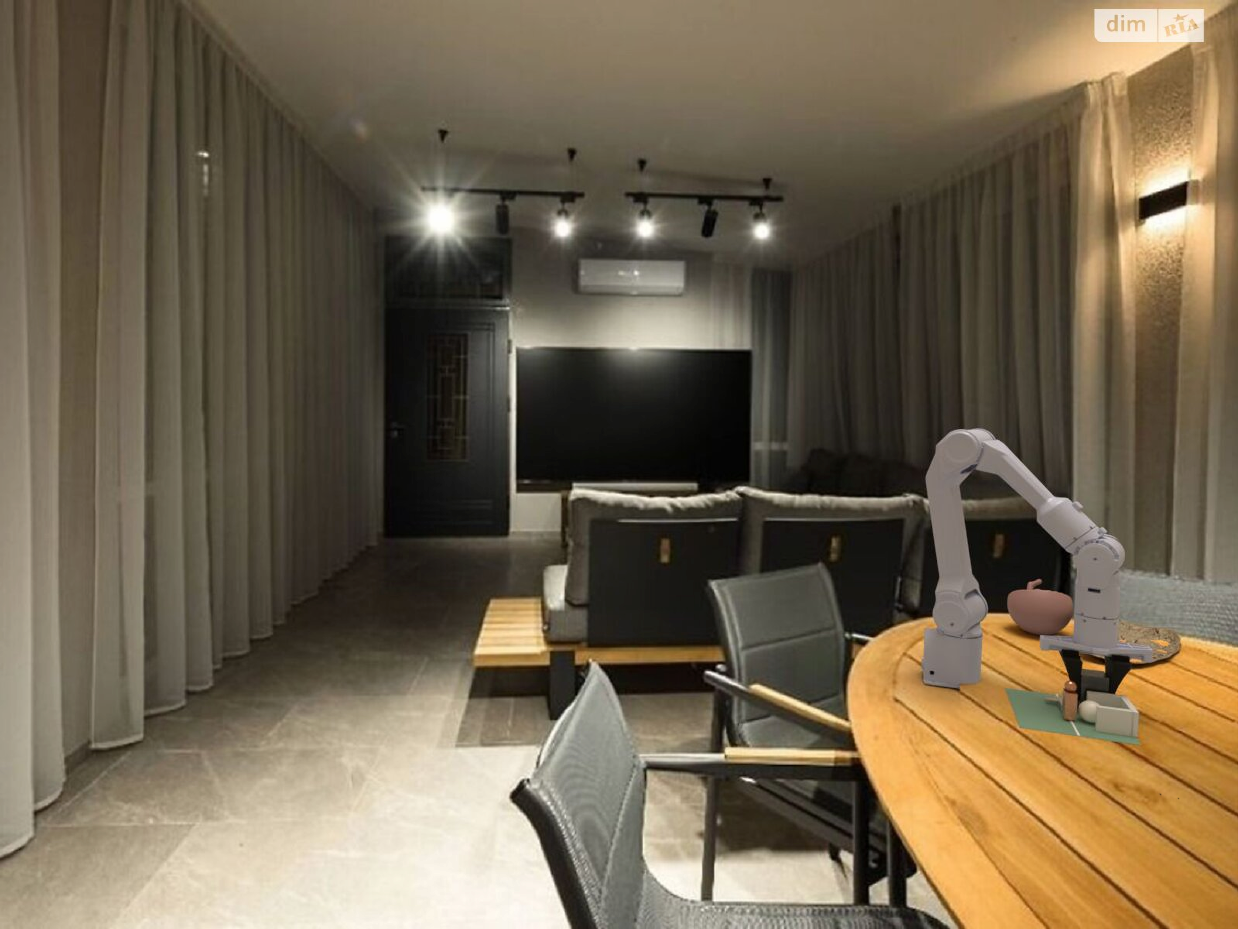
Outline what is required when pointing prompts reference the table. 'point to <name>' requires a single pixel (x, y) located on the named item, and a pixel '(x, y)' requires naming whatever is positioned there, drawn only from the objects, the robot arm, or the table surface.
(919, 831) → the table surface
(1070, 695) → the knob lever
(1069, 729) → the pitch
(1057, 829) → the table surface
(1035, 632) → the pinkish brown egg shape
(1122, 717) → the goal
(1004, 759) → the table surface
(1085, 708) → the ball
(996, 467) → the robot arm
